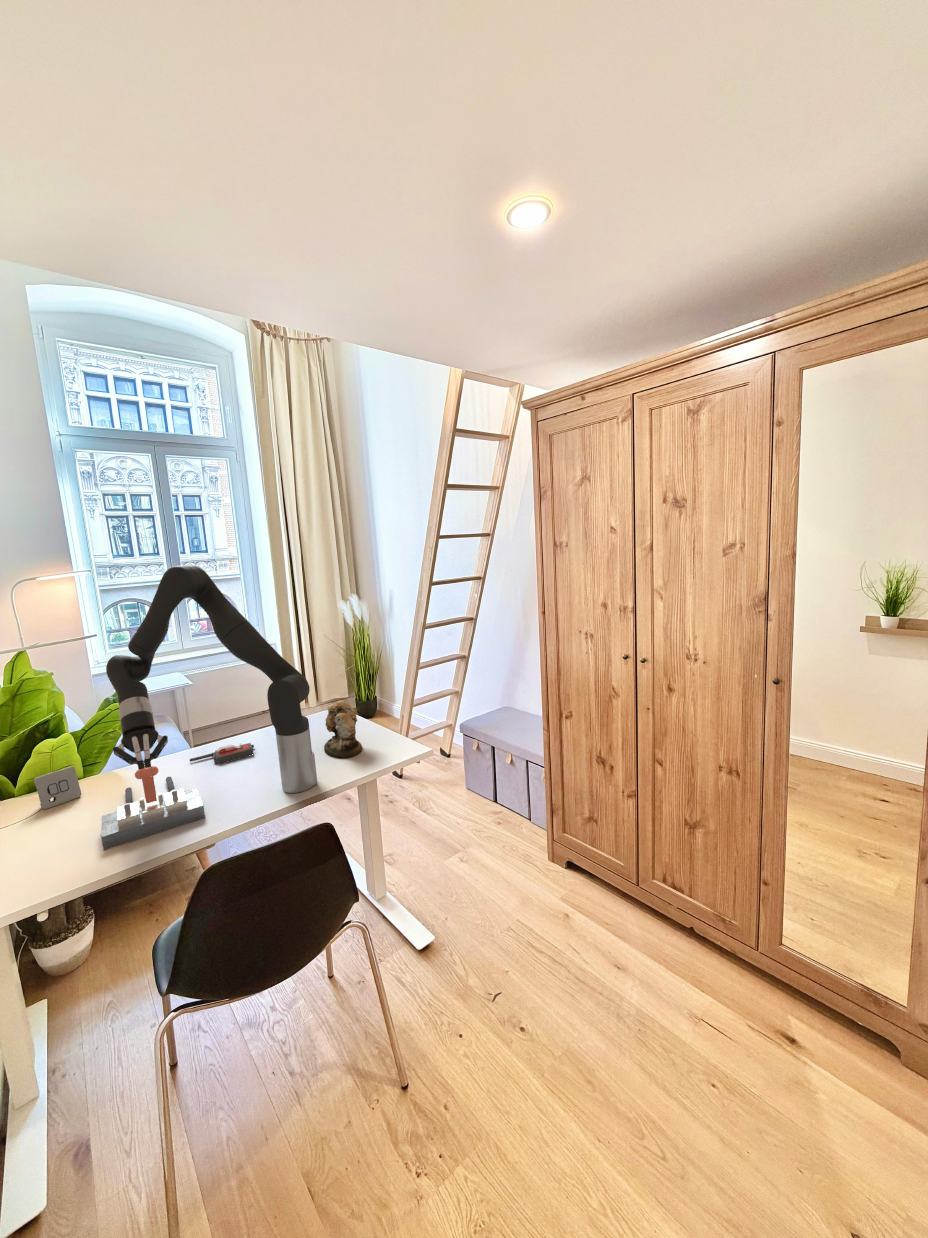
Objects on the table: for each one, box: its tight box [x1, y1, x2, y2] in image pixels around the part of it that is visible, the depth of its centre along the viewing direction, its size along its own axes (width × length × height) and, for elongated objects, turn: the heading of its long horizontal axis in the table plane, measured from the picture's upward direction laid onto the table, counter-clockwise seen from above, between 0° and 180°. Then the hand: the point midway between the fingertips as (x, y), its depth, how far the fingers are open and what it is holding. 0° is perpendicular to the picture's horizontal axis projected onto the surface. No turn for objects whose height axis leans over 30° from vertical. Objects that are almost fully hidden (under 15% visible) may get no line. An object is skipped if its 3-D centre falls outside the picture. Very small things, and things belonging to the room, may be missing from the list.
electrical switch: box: [33, 766, 82, 810], centre depth 145 cm, size 9×5×9 cm, turn 141°
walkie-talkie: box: [189, 742, 255, 765], centre depth 169 cm, size 9×4×20 cm
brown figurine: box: [323, 700, 363, 759], centre depth 171 cm, size 18×12×17 cm, turn 38°
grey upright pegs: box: [125, 776, 175, 804], centre depth 144 cm, size 13×20×3 cm, turn 35°
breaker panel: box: [100, 788, 206, 851], centre depth 130 cm, size 22×12×8 cm, turn 125°
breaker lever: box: [134, 765, 160, 804], centre depth 126 cm, size 5×2×12 cm
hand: (146, 775), depth 129 cm, fingers closed
